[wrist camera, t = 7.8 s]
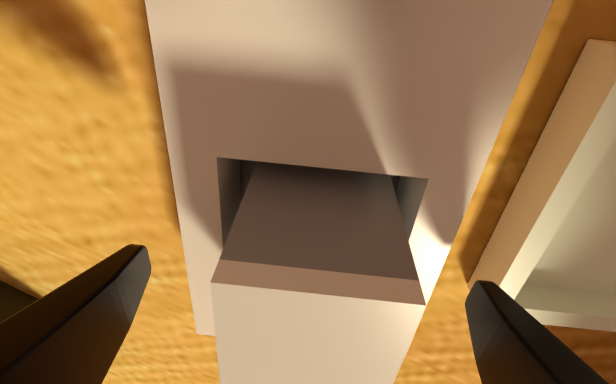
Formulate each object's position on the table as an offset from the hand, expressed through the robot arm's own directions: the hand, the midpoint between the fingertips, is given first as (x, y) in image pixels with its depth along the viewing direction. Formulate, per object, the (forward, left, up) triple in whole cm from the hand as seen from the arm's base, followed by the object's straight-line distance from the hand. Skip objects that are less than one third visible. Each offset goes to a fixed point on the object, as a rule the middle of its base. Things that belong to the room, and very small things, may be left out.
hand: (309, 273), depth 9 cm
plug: (0, 0, -4) cm, 4 cm away
